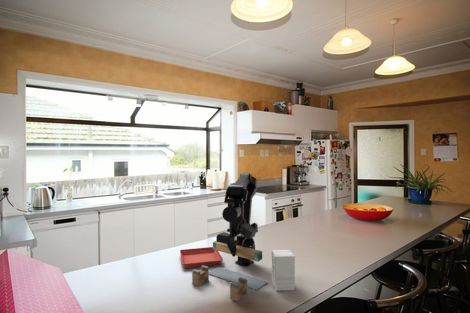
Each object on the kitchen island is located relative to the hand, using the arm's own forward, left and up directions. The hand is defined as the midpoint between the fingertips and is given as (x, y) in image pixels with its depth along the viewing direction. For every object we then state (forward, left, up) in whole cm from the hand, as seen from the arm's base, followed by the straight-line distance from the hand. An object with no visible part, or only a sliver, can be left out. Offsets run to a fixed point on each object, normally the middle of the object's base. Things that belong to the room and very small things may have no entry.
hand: (236, 255), depth 109 cm
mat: (0, 0, -9) cm, 9 cm away
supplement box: (-5, +18, -9) cm, 21 cm away
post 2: (+11, +9, -9) cm, 17 cm away
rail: (0, 0, 0) cm, 0 cm away
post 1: (+11, -9, -9) cm, 17 cm away
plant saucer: (-5, -24, -10) cm, 26 cm away
